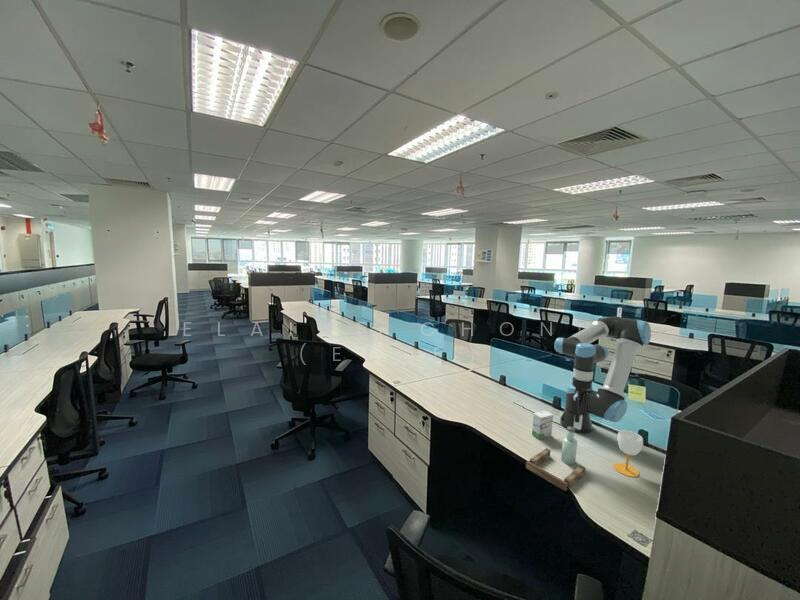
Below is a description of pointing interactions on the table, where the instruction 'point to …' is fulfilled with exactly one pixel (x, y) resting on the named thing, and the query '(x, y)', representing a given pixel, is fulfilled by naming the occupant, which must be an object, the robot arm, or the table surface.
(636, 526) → the table surface
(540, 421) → the ink box
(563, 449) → the bottle
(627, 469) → the cup
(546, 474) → the u rest
